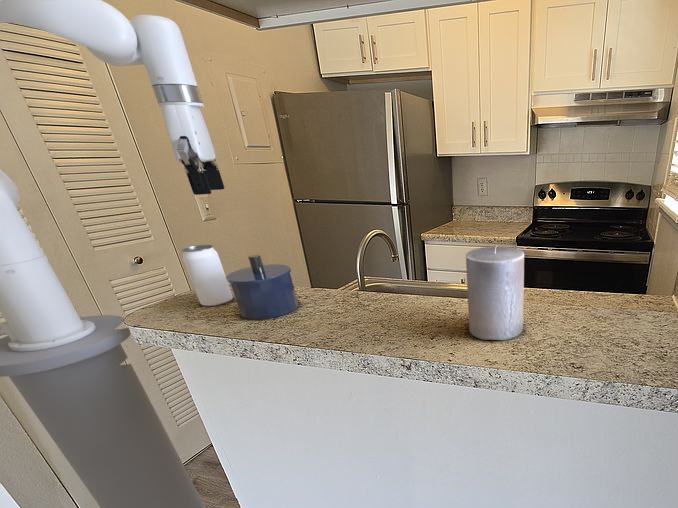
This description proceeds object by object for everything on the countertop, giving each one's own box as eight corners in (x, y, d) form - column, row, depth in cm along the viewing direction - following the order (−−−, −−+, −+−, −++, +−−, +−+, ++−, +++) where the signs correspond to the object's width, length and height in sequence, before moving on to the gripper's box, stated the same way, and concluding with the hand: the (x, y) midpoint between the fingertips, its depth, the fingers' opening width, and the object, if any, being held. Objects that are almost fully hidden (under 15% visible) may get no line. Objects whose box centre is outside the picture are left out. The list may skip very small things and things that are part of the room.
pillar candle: (499, 314, 78) (499, 236, 71) (534, 331, 71) (537, 245, 64) (458, 328, 73) (453, 245, 66) (491, 347, 67) (489, 256, 59)
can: (236, 295, 94) (218, 243, 88) (230, 304, 89) (210, 249, 83) (205, 299, 92) (184, 246, 87) (197, 308, 87) (174, 253, 81)
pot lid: (219, 289, 76) (211, 266, 74) (237, 272, 86) (230, 251, 84) (285, 283, 78) (279, 260, 76) (296, 267, 88) (290, 246, 86)
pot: (234, 322, 80) (221, 285, 76) (249, 303, 89) (238, 270, 85) (293, 316, 82) (283, 280, 78) (301, 297, 91) (293, 265, 87)
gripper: (174, 102, 86) (203, 189, 94) (137, 93, 71) (175, 197, 79) (213, 101, 87) (239, 187, 96) (184, 93, 73) (217, 195, 81)
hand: (210, 191), depth 87 cm, fingers open, 9 cm apart
